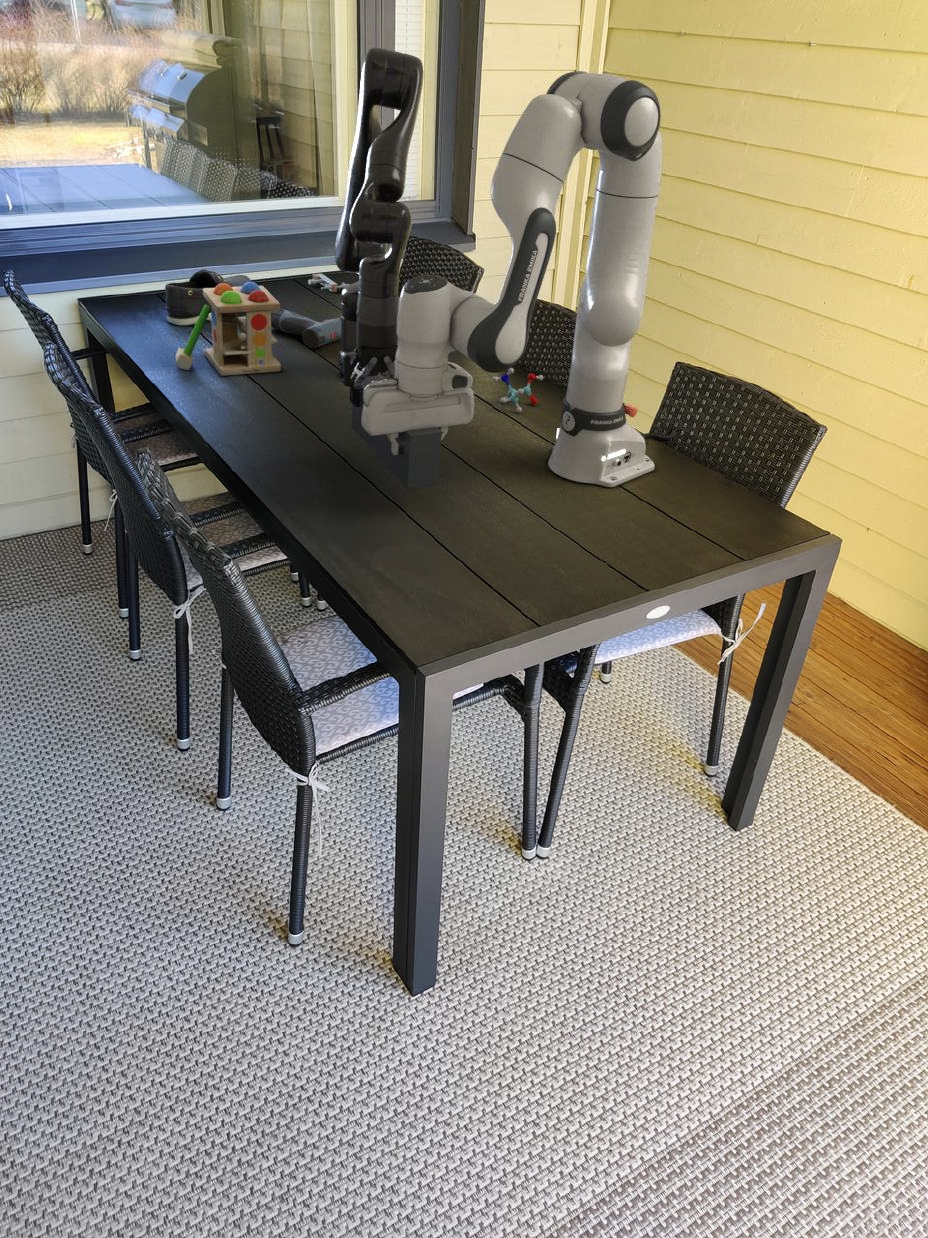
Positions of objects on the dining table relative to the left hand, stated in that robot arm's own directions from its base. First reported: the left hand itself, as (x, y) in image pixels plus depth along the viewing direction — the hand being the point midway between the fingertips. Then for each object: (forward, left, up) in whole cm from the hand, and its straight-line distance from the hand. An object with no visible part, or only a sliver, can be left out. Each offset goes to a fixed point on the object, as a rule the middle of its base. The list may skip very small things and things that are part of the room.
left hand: (374, 403), depth 187 cm
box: (+5, +8, -6) cm, 11 cm away
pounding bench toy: (-18, -57, -12) cm, 61 cm away
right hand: (+10, +17, -1) cm, 19 cm away
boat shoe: (-45, -89, -12) cm, 100 cm away
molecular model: (-46, +5, -12) cm, 48 cm away
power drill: (-49, -58, -12) cm, 77 cm away
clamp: (-84, -81, -12) cm, 117 cm away
